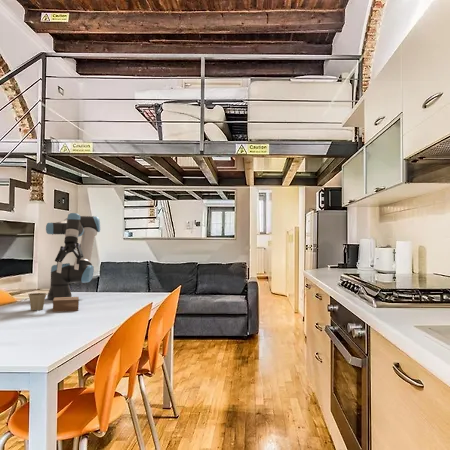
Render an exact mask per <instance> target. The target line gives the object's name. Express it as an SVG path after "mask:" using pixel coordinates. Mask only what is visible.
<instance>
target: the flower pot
mask: <svg viewBox="0 0 450 450" xmlns="http://www.w3.org/2000/svg"><path fill="white" fill-rule="evenodd" d="M47 295H48V293H45V292H33V293H28V297H29V305H30V306H29V307H30V311H43V310H44V305H45V300H46V297H47Z"/></svg>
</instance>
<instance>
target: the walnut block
mask: <svg viewBox="0 0 450 450" xmlns="http://www.w3.org/2000/svg"><path fill="white" fill-rule="evenodd" d="M79 301H80V298H79V296H72V297H55V298H54V300H52V312H54V313H55V312H77V311H79Z"/></svg>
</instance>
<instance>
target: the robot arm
mask: <svg viewBox="0 0 450 450" xmlns="http://www.w3.org/2000/svg"><path fill="white" fill-rule="evenodd" d="M45 232H46V234H47V235H52V236H53V235H64V236H65V237H64V240H63V241H64V242H63V243H64V246H63V245H60V248H59V251H58V252H57V255H56V257H55V259H54V262H56V264H53V265H52V266H51V268H50V286H49V290H48V293H47V295H46V297H47V298H46V299H47V300H52V301H53V300H54V298H55V297H73V296H72V291H71V288H70V284H71V283H73V284H76V283H77V284H78V283H79V284H80V283H83V284H86V283H90V282H91V281H92V280H93V276H94V273H95V272H94V271H95V269H94V268H95V267H94V266H93V264H92V262H91V259H92V254H93V253H92V252H93V249H94V248H93V246H94V240H95V237H96V236H97V235H98V233H100V232H101V222H100V217H98V216H97V215H96V216H94V215H93V216H92V215H91V216H90V215H80V214H79V213H77V212H70V213H68V214H67V218H65V219H63V220H61V221H58V222H57V221H56V222H47V223H46V226H45ZM79 237H81V240H80V243H79ZM71 253H73V254H74V256H75V258H74V264H70V263H69V262H67V263H63V261H64V259H65V257H66V256H67V255H68V254H71Z"/></svg>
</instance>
